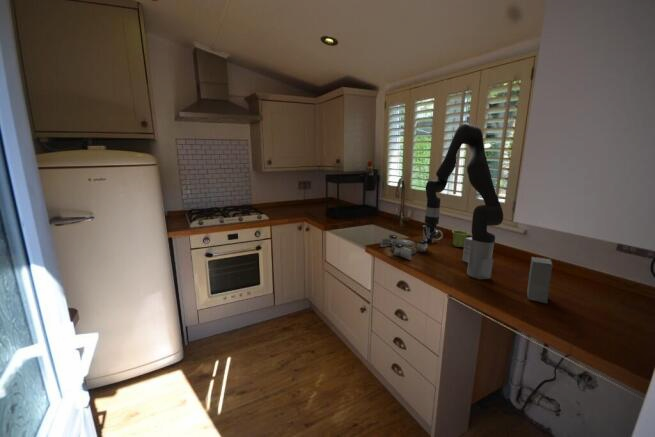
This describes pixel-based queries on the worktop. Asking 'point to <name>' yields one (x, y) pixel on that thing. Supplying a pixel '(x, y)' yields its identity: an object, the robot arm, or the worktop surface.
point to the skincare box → (539, 279)
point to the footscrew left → (402, 251)
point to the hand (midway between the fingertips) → (429, 244)
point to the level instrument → (406, 245)
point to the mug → (433, 238)
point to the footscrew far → (388, 241)
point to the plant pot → (459, 238)
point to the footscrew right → (422, 245)
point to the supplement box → (466, 249)
